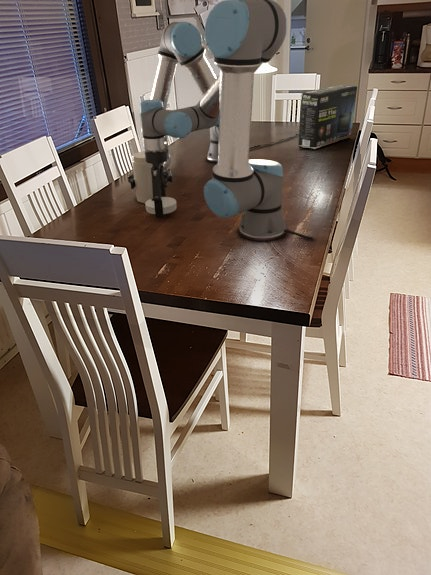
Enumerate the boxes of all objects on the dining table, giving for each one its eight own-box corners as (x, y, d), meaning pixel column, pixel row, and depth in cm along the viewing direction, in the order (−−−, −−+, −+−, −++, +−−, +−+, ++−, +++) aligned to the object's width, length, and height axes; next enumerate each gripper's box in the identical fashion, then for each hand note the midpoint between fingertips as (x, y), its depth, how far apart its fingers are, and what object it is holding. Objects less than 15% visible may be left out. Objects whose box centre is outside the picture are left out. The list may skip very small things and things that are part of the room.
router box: (314, 151, 231) (318, 94, 217) (296, 148, 237) (299, 92, 224) (352, 138, 251) (358, 85, 238) (335, 135, 258) (340, 83, 245)
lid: (168, 200, 170) (168, 194, 169) (181, 210, 162) (181, 203, 161) (141, 207, 166) (140, 200, 165) (153, 216, 158) (152, 210, 157)
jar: (138, 204, 175) (133, 159, 166) (135, 196, 184) (129, 152, 175) (165, 201, 178) (161, 156, 169) (160, 192, 186) (156, 149, 177)
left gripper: (184, 176, 194) (176, 194, 175) (131, 177, 196) (117, 195, 177) (183, 158, 190) (175, 175, 171) (129, 159, 192) (115, 176, 173)
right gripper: (163, 159, 143) (169, 224, 155) (169, 140, 163) (174, 199, 175) (139, 159, 143) (146, 224, 155) (148, 141, 163) (154, 199, 175)
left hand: (146, 185), depth 174 cm, fingers closed on jar, 10 cm apart
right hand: (161, 211), depth 165 cm, fingers closed on lid, 11 cm apart
